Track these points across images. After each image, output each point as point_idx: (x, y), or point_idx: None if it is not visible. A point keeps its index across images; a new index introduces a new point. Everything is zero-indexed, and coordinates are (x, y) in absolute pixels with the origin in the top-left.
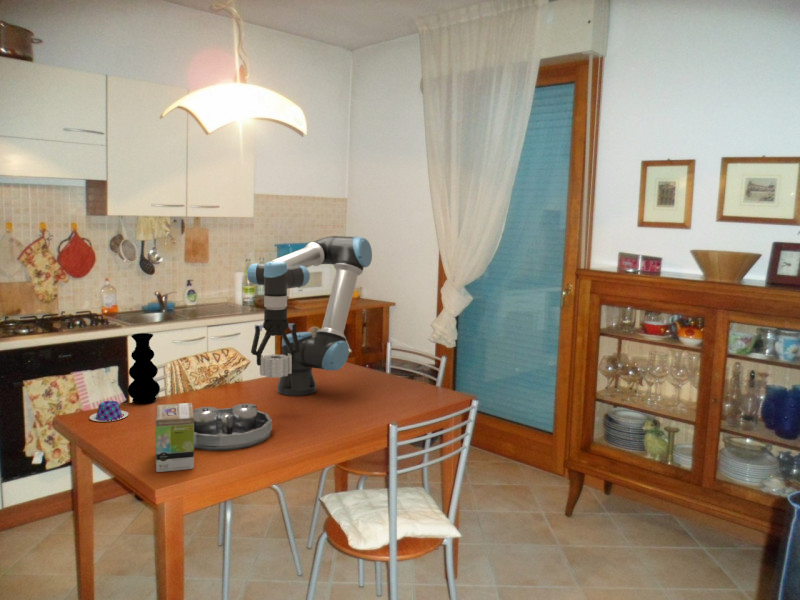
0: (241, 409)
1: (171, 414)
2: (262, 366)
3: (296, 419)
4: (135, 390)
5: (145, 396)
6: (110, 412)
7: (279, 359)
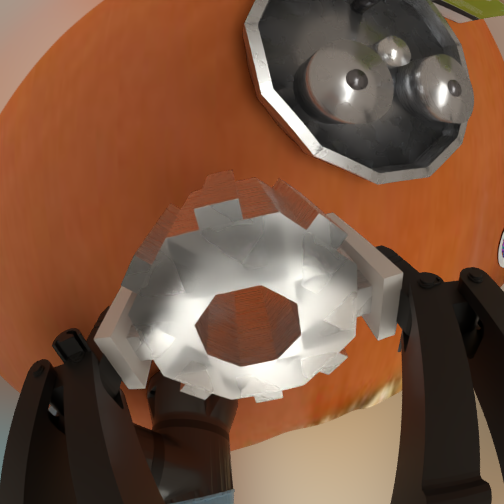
0: (363, 54)
1: None
2: (349, 235)
3: (164, 170)
4: None
5: None
6: None
7: (202, 227)
